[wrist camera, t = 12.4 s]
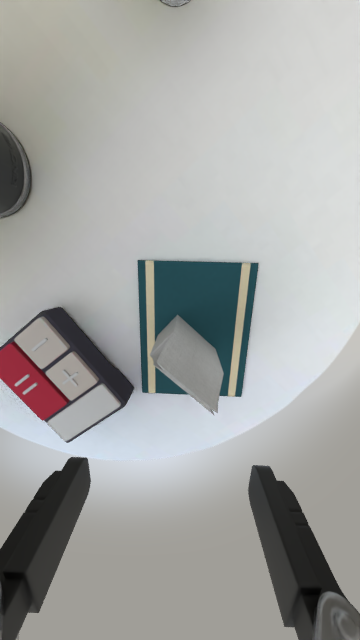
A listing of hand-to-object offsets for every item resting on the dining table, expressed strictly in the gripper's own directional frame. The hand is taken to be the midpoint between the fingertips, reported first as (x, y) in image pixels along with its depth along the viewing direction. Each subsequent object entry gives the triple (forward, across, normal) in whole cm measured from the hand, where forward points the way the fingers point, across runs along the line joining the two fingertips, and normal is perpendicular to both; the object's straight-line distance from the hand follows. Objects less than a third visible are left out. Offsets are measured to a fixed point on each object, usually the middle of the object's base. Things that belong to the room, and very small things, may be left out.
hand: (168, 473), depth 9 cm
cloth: (+17, -2, -1) cm, 17 cm away
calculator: (+17, +15, +5) cm, 23 cm away
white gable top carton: (+17, -1, 0) cm, 17 cm away
